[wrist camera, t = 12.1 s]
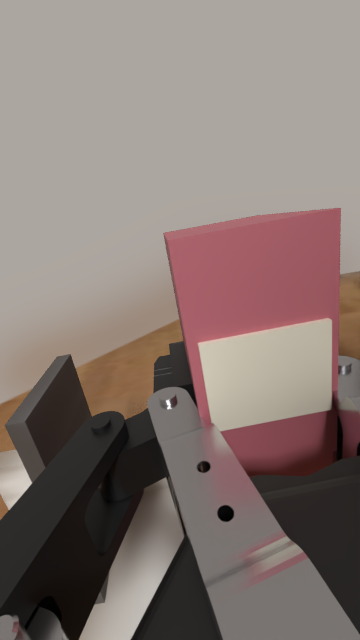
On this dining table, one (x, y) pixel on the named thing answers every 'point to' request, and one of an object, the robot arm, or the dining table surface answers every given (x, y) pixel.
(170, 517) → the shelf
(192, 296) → the book
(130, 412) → the dining table surface
